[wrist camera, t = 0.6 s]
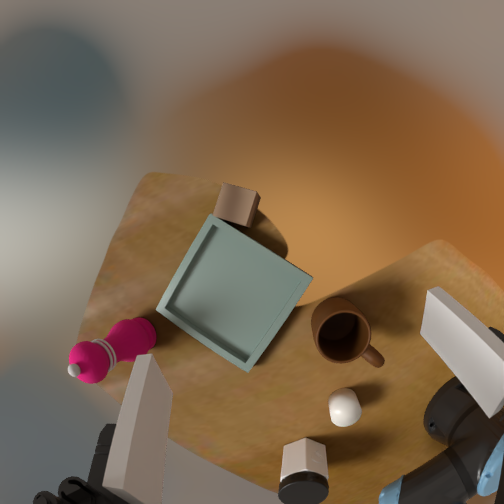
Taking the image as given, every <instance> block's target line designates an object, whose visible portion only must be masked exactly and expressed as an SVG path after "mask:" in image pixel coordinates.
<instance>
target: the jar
mask: <svg viewBox="0 0 504 504" xmlns="http://www.w3.org/2000/svg"><path fill="white" fill-rule="evenodd" d="M328 477H329V476H328V466H327V456H326V447H325V445H323V444H320V443H318V442H315V441H313V440H311V439H308V438H303V439H301V440H298V441H295V442H293V443H290V444H287V445H285V446H284V451H283V461H282V470H281V480H280V484H279V492H278V497H279V499H280V500H281V502H283V503H284V504H319V503H321V502H322V501H324V500H325V499H326V497H327V496H328V493H329V491H328V489H329V485H328Z"/></svg>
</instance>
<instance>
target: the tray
mask: <svg viewBox="0 0 504 504" xmlns="http://www.w3.org/2000/svg"><path fill="white" fill-rule="evenodd" d="M312 279H313V277H312V276H310V275H309V274H307V273H306V272H304V271H303V270H301V269H299V268H298V267H296V266H295V265H293V264H292V263H290V262H289V261H287V260H285V259H284V258H282V257H281V256H279V255H277V254H276V253H274V252H273V251H271V250H270V249H268V248H266V247H265V246H263V245H262V244H260V243H258V242H257V241H255V240H254V239H252V238H251V237H249V236H247V235H246V234H244V233H243V232H241V231H239V230H238V229H236V228H235V227H233V226H231V225H230V224H228V223H227V222H225V221H223V220H222V219H220V218H217V217H215V216H213V214H211V213H210V215H209V216H208V218H207V220H206V221H205V223H204V225H203V226H202V228H201V230H200V231H199V233H198V235H197V237H196V238H195V240H194V242H193V243H192V245H191V247H190V249H189V250H188V252H187V254H186V256H185V257H184V259H183V261H182V263H181V264H180V266H179V268H178V270H177V271H176V273H175V275H174V277H173V279H172V280H171V282H170V284H169V286H168V288H167V290H166V291H165V293H164V295H163V297H162V299H161V301H160V303H159V304H158V306H157V308H156V310H157V311H158V312H159V313H161V314H162V315H163V316H165V317H166V318H167V319H169V320H170V321H171V322H173V323H174V324H176V325H177V326H178V327H180V328H181V329H183V330H184V331H185V332H187V333H188V334H190V335H191V336H192V337H194V338H195V339H197V340H198V341H200V342H201V343H203V344H204V345H206V346H207V347H208V348H210V349H211V350H213V351H214V352H216V353H217V354H219V355H221V356H222V357H224V358H225V359H227V360H228V361H230V362H231V363H233V364H235V365H236V366H238V367H239V368H241V369H243V370H244V371H246V372H247V373H248V372H249V371H250V369H251V368H252V367H253V365H254V364H255V363H256V361H257V360H258V358H259V357H260V356H261V354H262V353H263V352H264V350H265V349H266V347H267V346H268V345H269V343H270V342H271V340H272V339H273V337H274V336H275V335H276V333H277V332H278V330H279V329H280V327H281V326H282V325H283V323H284V322H285V320H286V319H287V317H288V316H289V314H290V313H291V311H292V310H293V308H294V307H295V305H296V304H297V302H298V301H299V299H300V298H301V296H302V295H303V293H304V292H305V290H306V289H307V287H308V286H309V284H310V282H311V281H312Z"/></svg>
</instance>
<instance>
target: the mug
mask: <svg viewBox="0 0 504 504" xmlns="http://www.w3.org/2000/svg"><path fill="white" fill-rule="evenodd" d="M311 326H312V332H313V337H314V341H315V345H316V347H317V349H318V351H319V352H320V354H321V355H322V356H323V357H324V358H325V359H327V360H328V361H331V362H334V363H348V362H351V361H353V360H355V359H357V358H359V357H360V356H362V357H363V358H364V359H365V360H366V361H367V362H369V363H370V364H371V365H373V366H375V367H378V368H379V367H381V366H383V364H384V361H385V360H384V357H383V356H382V355H381V354H380V353H379V352H378V351H377V350H376V349H375V348H374V347H372V346H371V345H370V344H369V343H370V340H371V328H370V324H369V322H368V320H367V319H366V317H365V316H364V314H363V313H362V312H361V311H360V310H359V309H358V308H357V307H356V306H355V305H353V304H352V303H351V302H350V301H348V300H346V299H344V298H340V297H333V298H329V299H326V300H324V301H323V302H321V303H320V304H319V305H318V306H317V307H316V309H315V310H314V312H313V315H312V319H311Z"/></svg>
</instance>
